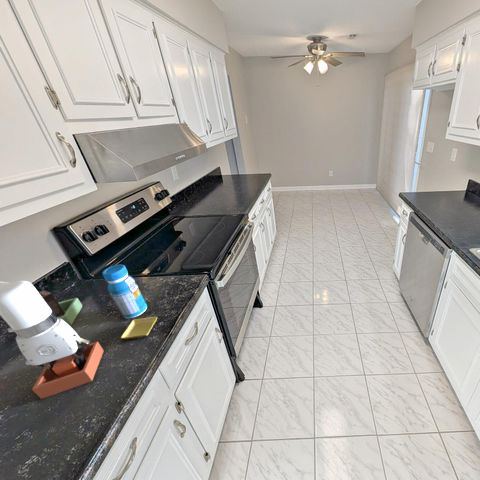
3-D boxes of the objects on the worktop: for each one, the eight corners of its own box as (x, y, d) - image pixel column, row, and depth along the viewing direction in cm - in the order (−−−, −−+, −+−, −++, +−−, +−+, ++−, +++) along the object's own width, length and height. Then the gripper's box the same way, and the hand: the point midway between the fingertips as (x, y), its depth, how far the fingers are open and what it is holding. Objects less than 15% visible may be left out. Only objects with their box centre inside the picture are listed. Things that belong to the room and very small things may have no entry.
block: (60, 379, 73) (51, 368, 71) (66, 366, 76) (58, 356, 74) (79, 372, 74) (71, 362, 72) (84, 360, 78) (77, 350, 76)
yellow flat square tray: (159, 320, 94) (157, 316, 93) (149, 338, 86) (147, 334, 85) (135, 323, 93) (132, 319, 92) (122, 342, 86) (119, 338, 85)
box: (69, 317, 98) (52, 292, 92) (54, 325, 94) (36, 300, 89) (61, 313, 100) (43, 289, 94) (46, 321, 96) (28, 296, 91)
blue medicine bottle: (127, 322, 94) (102, 279, 85) (119, 313, 98) (95, 271, 89) (151, 309, 100) (131, 267, 90) (143, 301, 104) (122, 260, 95)
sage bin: (31, 336, 91) (24, 327, 88) (47, 315, 100) (40, 307, 98) (71, 325, 95) (65, 316, 92) (82, 306, 104) (77, 297, 102)
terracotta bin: (41, 399, 69) (31, 389, 67) (59, 365, 79) (51, 355, 77) (92, 381, 73) (84, 371, 71) (104, 351, 83) (97, 341, 81)
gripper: (-16, 347, 61) (29, 393, 69) (70, 322, 67) (102, 367, 75) (3, 326, 67) (42, 370, 76) (81, 305, 73) (109, 348, 81)
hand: (72, 368), depth 75 cm, fingers closed on block, 4 cm apart
